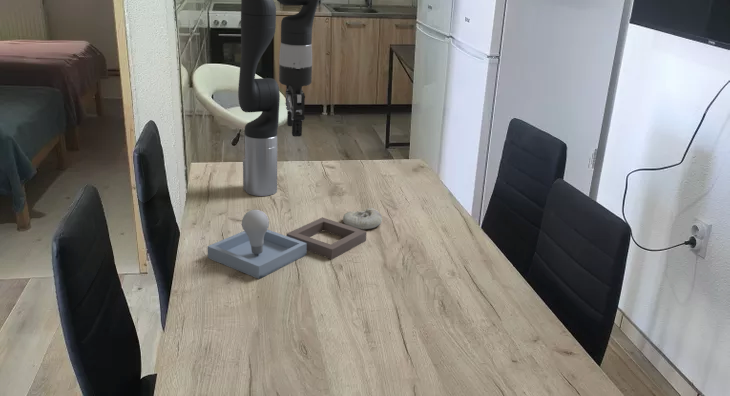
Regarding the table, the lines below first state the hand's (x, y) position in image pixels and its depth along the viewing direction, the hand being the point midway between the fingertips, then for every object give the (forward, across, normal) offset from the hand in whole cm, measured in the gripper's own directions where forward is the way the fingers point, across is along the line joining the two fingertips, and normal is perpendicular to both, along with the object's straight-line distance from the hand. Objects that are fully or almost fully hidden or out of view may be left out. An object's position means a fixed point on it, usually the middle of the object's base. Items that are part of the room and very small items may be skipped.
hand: (294, 130), depth 156 cm
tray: (+26, +14, -10) cm, 31 cm away
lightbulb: (+26, +14, -10) cm, 31 cm away
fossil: (+27, -3, +20) cm, 33 cm away
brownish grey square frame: (+26, +8, +8) cm, 28 cm away
